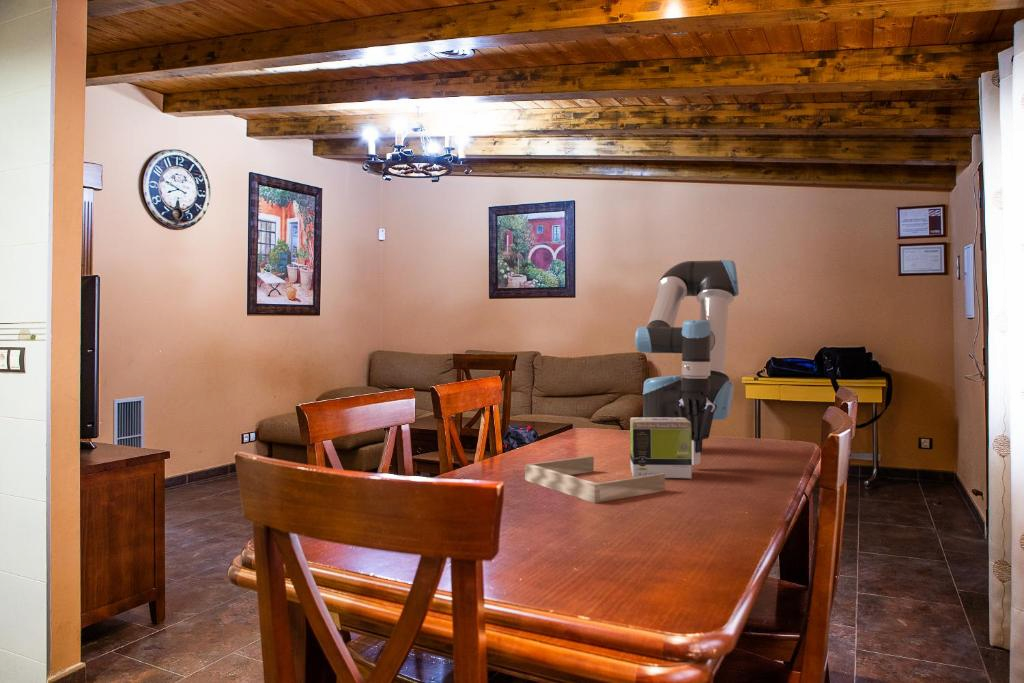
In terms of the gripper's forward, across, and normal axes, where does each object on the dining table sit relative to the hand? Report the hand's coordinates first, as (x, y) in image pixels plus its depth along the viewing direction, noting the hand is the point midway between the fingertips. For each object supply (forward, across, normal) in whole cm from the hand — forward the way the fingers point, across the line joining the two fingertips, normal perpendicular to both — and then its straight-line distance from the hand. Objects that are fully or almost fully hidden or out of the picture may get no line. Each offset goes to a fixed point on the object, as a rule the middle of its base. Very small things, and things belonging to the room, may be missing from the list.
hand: (694, 463), depth 194 cm
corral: (+2, 0, -35) cm, 35 cm away
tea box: (+2, 0, -13) cm, 13 cm away
